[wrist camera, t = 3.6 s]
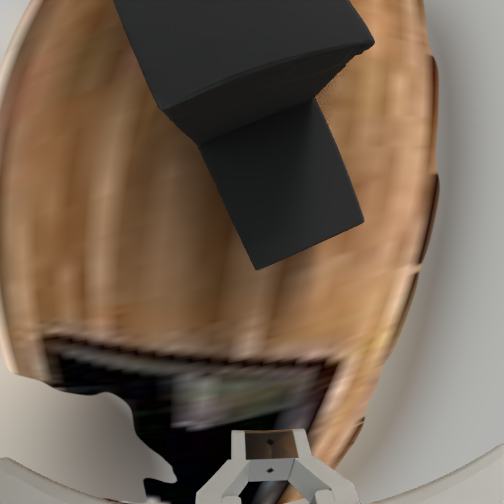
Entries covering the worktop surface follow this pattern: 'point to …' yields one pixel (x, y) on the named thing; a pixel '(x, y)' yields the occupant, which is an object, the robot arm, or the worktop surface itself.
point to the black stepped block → (256, 107)
